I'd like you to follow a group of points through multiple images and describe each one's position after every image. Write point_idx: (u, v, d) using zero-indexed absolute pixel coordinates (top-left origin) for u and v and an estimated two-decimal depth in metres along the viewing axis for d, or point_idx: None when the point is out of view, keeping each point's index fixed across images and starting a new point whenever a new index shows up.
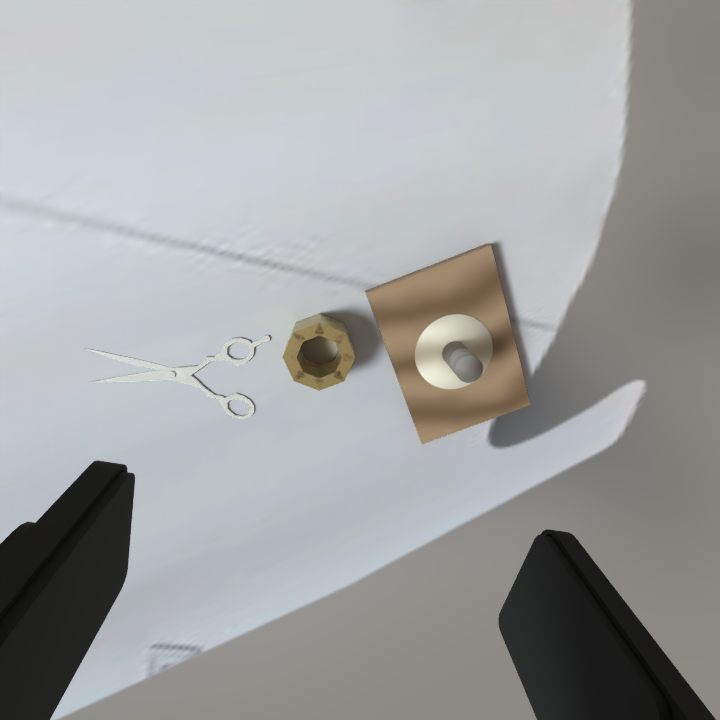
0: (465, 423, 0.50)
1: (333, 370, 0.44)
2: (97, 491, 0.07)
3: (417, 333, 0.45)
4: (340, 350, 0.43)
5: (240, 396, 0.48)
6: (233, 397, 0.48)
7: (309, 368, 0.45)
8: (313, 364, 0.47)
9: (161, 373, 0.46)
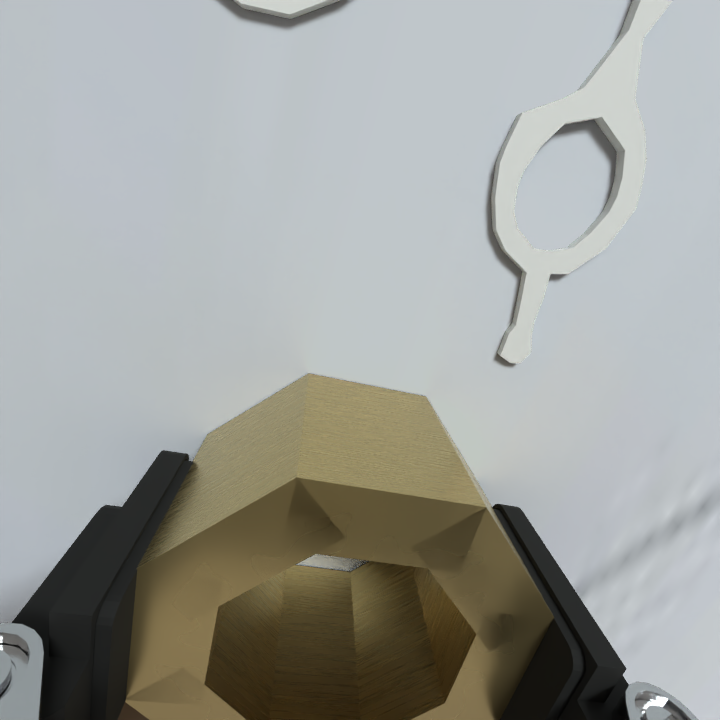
0: None
1: (216, 635, 0.08)
2: (170, 477, 0.08)
3: None
4: None
5: None
6: None
7: None
8: None
9: None
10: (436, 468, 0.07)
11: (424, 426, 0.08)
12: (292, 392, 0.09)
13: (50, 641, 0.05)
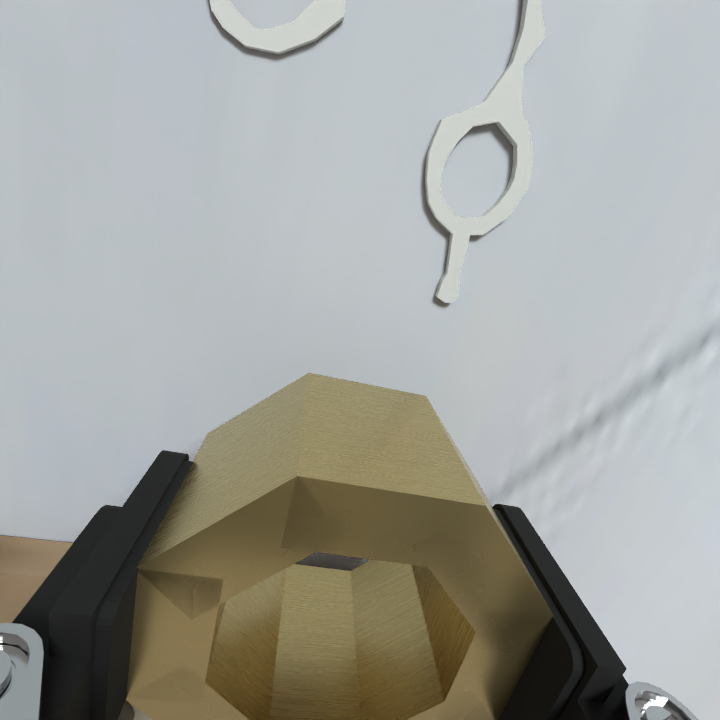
0: None
1: (217, 634, 0.08)
2: (170, 477, 0.08)
3: None
4: None
5: (319, 25, 0.10)
6: None
7: None
8: None
9: None
10: (436, 467, 0.07)
11: (424, 425, 0.08)
12: (292, 391, 0.09)
13: (50, 641, 0.05)
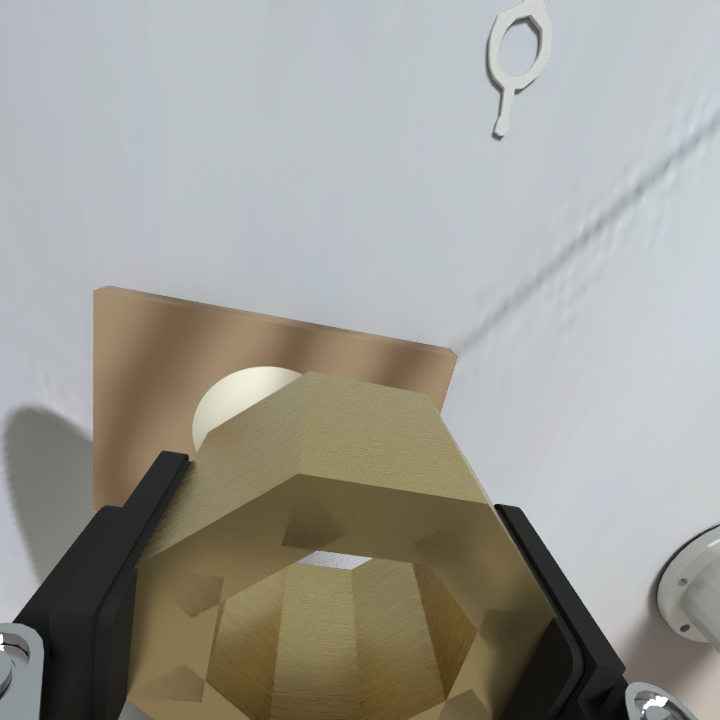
0: (106, 394, 0.23)
1: (217, 633, 0.08)
2: (170, 477, 0.08)
3: None
4: None
5: None
6: None
7: None
8: None
9: None
10: (438, 465, 0.07)
11: (425, 423, 0.08)
12: (293, 389, 0.09)
13: (50, 641, 0.05)
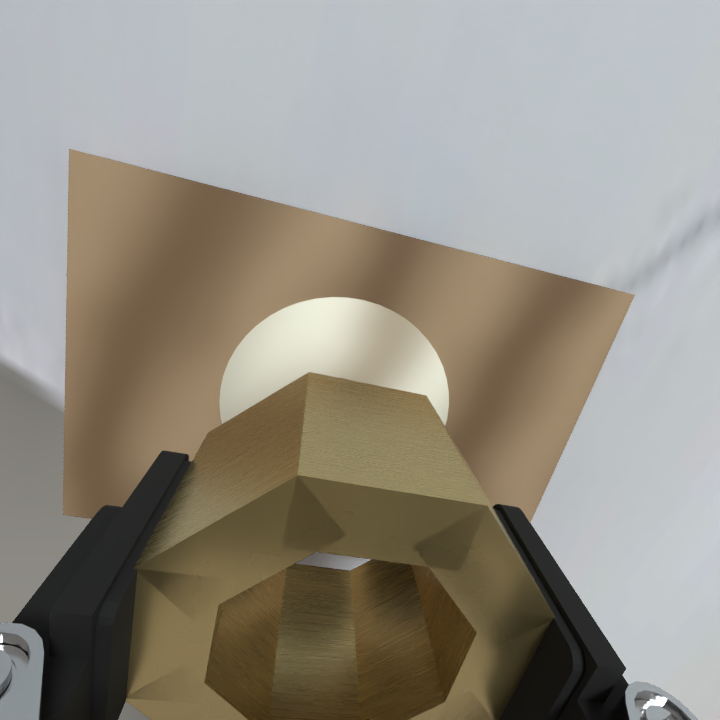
0: (86, 331, 0.14)
1: (216, 634, 0.08)
2: (170, 477, 0.08)
3: (449, 353, 0.16)
4: None
5: None
6: None
7: None
8: None
9: None
10: (437, 466, 0.07)
11: (425, 425, 0.08)
12: (293, 390, 0.09)
13: (50, 641, 0.05)
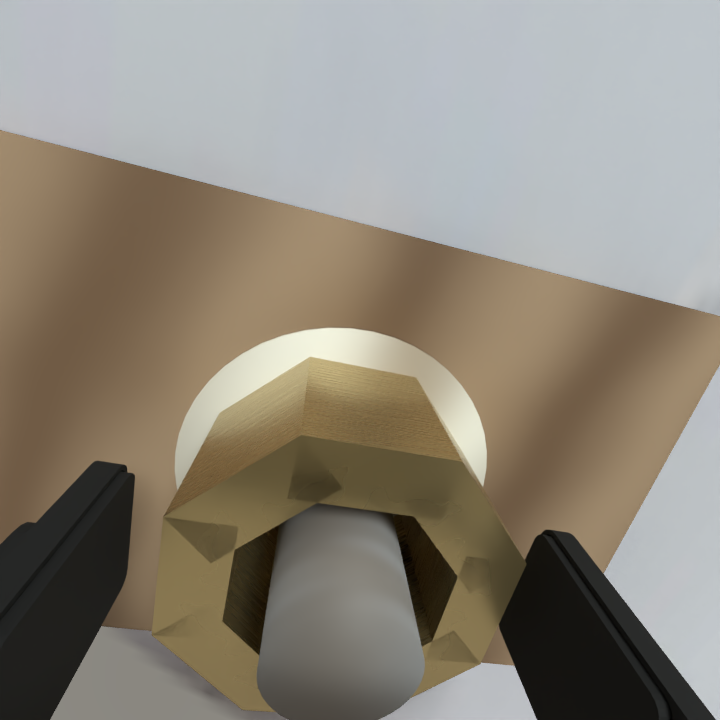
0: None
1: (231, 583, 0.09)
2: (97, 491, 0.07)
3: (489, 401, 0.12)
4: None
5: None
6: None
7: None
8: None
9: None
10: (421, 432, 0.08)
11: (413, 400, 0.09)
12: (295, 372, 0.10)
13: None
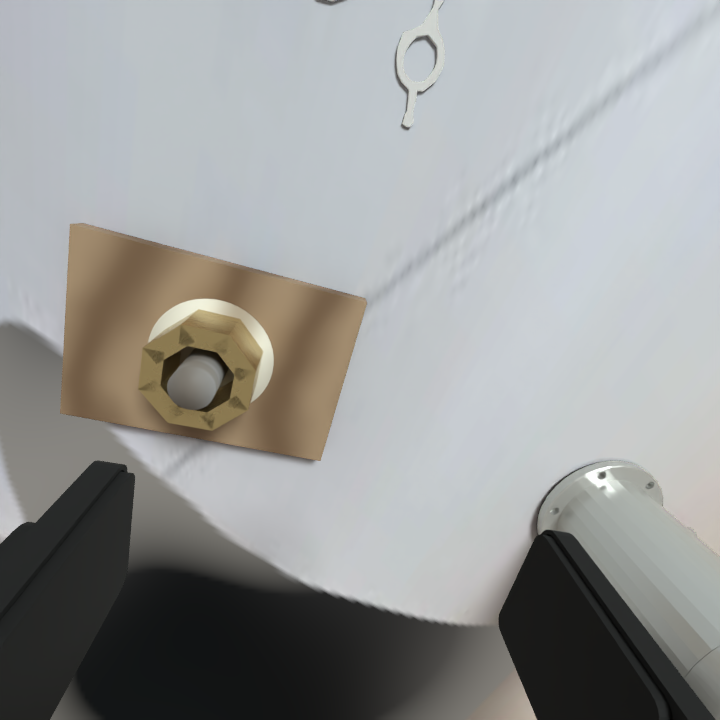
0: (76, 312, 0.28)
1: (164, 379, 0.27)
2: (97, 491, 0.07)
3: (271, 330, 0.30)
4: (190, 411, 0.27)
5: None
6: None
7: None
8: None
9: None
10: (222, 329, 0.26)
11: (229, 323, 0.28)
12: (191, 314, 0.28)
13: None
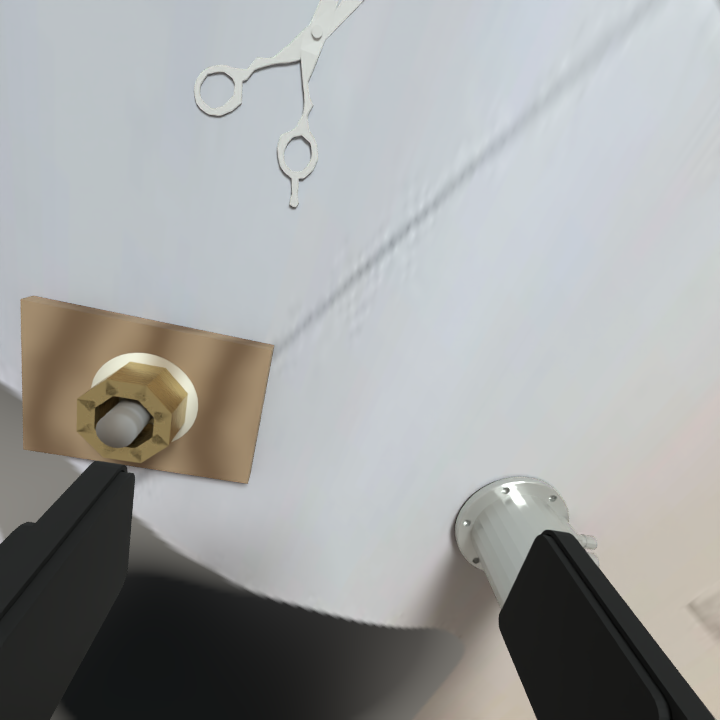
0: (30, 367, 0.34)
1: None
2: (97, 491, 0.07)
3: (193, 376, 0.36)
4: None
5: (233, 106, 0.30)
6: (236, 94, 0.30)
7: None
8: None
9: (326, 16, 0.29)
10: (143, 380, 0.32)
11: (152, 373, 0.34)
12: (123, 366, 0.34)
13: None
